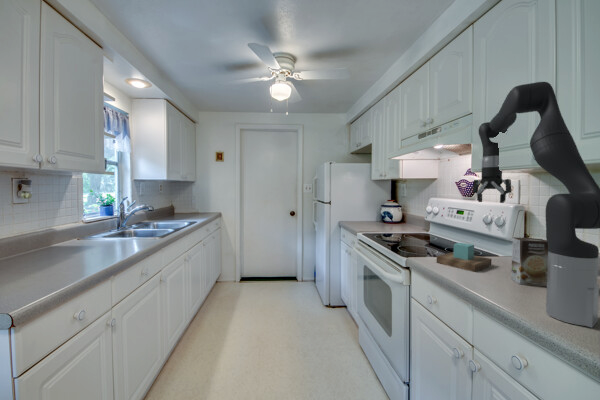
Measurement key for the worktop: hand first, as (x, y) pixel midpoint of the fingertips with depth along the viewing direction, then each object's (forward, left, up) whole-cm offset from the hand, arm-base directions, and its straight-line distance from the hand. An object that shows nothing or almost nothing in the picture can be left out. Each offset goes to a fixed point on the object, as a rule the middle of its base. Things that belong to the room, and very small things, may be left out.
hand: (490, 202), depth 119 cm
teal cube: (+6, +11, -25) cm, 28 cm away
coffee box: (-19, +16, -28) cm, 38 cm away
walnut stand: (+6, +11, -28) cm, 31 cm away
